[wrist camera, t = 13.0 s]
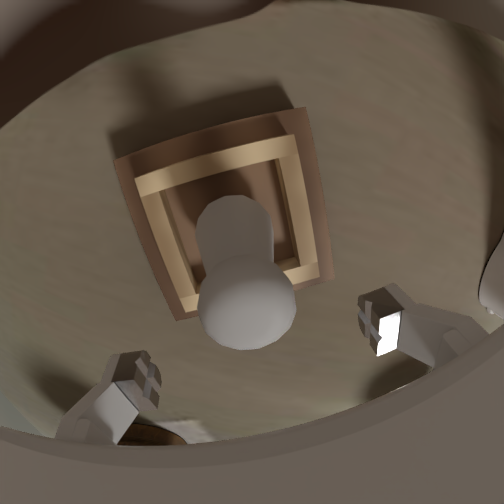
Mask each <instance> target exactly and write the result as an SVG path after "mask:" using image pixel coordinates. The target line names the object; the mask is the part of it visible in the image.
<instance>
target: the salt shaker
mask: <svg viewBox="0 0 504 504" xmlns="http://www.w3.org/2000/svg"><path fill="white" fill-rule="evenodd" d="M195 238H196V241H197V245H198V248H199V252H200V255H201V259H202V262H203V265H204V269H205V272H206V275H207V276H206V277H205V278H204V280H203V281H202V283H201V288H200V293H199V299H198V304H197V311H198V315H199V318H200V321H201V323H202V325H203V328H204V330H205V332H206V333H207V334H208V335H209V336H210V337H211V338H213V339H214V340H215V341H216V342H217V343H219V344H220V345H224V346H227V347H231V348H234V349H238V350H247V349H259V348H261V347H263V346H266V345H268V344H270V343H273V342H275V341H277V340H278V339H279V338H280V337H281V336H282V335H283V334H284V333H285V332H286V331H287V330H288V329H289V328H290V327H291V324H292V322H293V319H294V316H295V313H296V304H295V297H294V291H293V284H292V283H291V281H290V280H289V278H288V277H287V276H286V274H285V273H284V272H283V271H282V270H281V269H280V268H279V266H278V265H277V264H276V263H274V232H273V227H272V221H271V216H270V215H269V214H268V213H267V211H266V210H265V209H264V208H263V207H262V205H261V204H260V203H258V202H256V201H254V200H252V199H250V198H248V197H246V196H244V195H232V196H224V197H222V198H219V199H217V200H215V201H213V202H211V203H209V204H208V205H207V207H206V208H205V209H204V211H203V212H202V214H201V215H200V216H199V218H198V221H197V226H196V231H195Z"/></svg>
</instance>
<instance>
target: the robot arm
mask: <svg viewBox="0 0 504 504" xmlns="http://www.w3.org/2000/svg"><path fill="white" fill-rule="evenodd" d="M479 300H480V303H481V304H482V305H483V306H485V307H487V311H488V313H490V314H494V313H495V314H497V315H498V316H499V317H501V318H502V319H504V233H503V236H502V239H501V241H500V243H499V244H498V246H497V247H496V249H495V250H494V252H493V254H492V256H491V258H490V260H489V262H488V264H487V266H486V269H485V271H484V274H483V277H482V281H481V285H480V291H479ZM358 306H359V307H360V309H361V310H360V312H359V314H358V322H359V326H360V329H361V331H362V333H363V335H364V337H366V338H369V339H370V346H371V347H372V349H373V350H374V352H375V353H376V355H377V356H379V355H381V354H384V353H387V352H389V351H392V350H394V349H397V350H399V351H401V352H403V353H405V354H407V355H409V356H411V357H413V358H415V359H417V360H419V361H421V362H423V363H425V364H427V365H429V366H431V367H433V371H432V372H430V373H428V374H426V375H424V376H422V377H420V378H418V379H416V380H415V381H413V382H411V383H409V384H406V385H404V386H402V387H400V388H398V389H396V390H394V391H392V392H389V393H387V394H385V395H383V396H380V397H378V398H376V399H373V400H371V401H368V402H366V403H363V404H361V405H358V406H356V407H353V408H350V409H348V410H345V411H342V412H339V413H336V414H333V415H330V416H327V417H324V418H321V419H318V420H314V421H311V422H308V423H304V424H300V425H297V426H293V427H289V428H285V429H281V430H277V431H272V432H268V433H263V434H258V435H253V436H248V437H242V438H236V439H229V440H222V441H215V442H206V443H197V444H185V445H168V446H118V445H117V443H118V442H119V440H120V439H121V437H122V436H123V435H124V433H125V432H126V430H127V429H128V427H129V426H130V425H131V423H132V422H133V420H134V419H135V417H136V416H137V415H138V413H139V411H147V410H156V409H158V403H159V395H158V393H157V391H158V390H159V389H160V388H161V383H162V381H161V374H160V372H159V369H158V368H157V366H156V365H155V364H153V363H151V362H150V359H151V357H150V355H149V354H148V353H147V351H144V350H142V351H135V352H127V353H121V354H113V355H112V356H110V358H109V361H108V364H107V366H106V369H105V371H104V374H103V377H102V380H101V382H100V383H98V384H96V385H95V386H94V387H93V388H92V389H91V390H90V391H89V392H88V393H87V394H86V395H85V396H83V397H82V398H81V399H80V400H79V401H78V402H77V403H76V404H75V405H74V406H73V407H72V408H71V409H70V410H69V411H68V412H67V413H66V414H64V415H63V416H62V419H61V422H60V424H59V427H58V430H57V433H56V436H55V439H54V438H49V437H43V436H38V435H34V434H29V433H25V432H21V431H17V430H14V429H10V428H7V427H3V426H1V427H0V504H504V324H503V325H502V326H500V327H499V328H498V329H496V330H495V331H494V332H492V333H491V334H490V335H489V334H488V333H487V332H486V331H485V330H484V329H483V328H482V327H481V326H480V325H479V324H478V323H477V322H476V321H475V320H474V319H473V318H472V317H469V316H466V315H462V314H458V313H454V312H451V311H447V310H443V309H440V308H436V307H432V306H429V305H425V304H421V303H419V304H416V303H415V302H414V301H413V300H412V299H411V298H410V297H409V296H408V295H407V294H406V293H405V292H404V291H403V290H402V289H400V288H399V287H398V286H397V285H396V284H395V283H392V284H389V285H387V286H384V287H382V288H380V289H377V290H374V291H371V292H369V293H366V294H363V295H360V296H359V297H358Z"/></svg>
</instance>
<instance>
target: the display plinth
mask: <svg viewBox="0 0 504 504" xmlns="http://www.w3.org/2000/svg"><path fill="white" fill-rule="evenodd" d="M113 161H114V165H115V168H116V171H117V175H118V178H119V181H120V184H121V187H122V190H123V193H124V196H125V199H126V202H127V205H128V208H129V211H130V213H131V216H132V219H133V222H134V224H135V227H136V230H137V232H138V235H139V238H140V240H141V243H142V245H143V248H144V250H145V253H146V255H147V258H148V260H149V263H150V265H151V267H152V270H153V272H154V274H155V277H156V279H157V281H158V284H159V286H160V288H161V290H162V293H163V295H164V297H165V299H166V301H167V303H168V306H169V308H170V310H171V312H172V314H173V316H174V318H175V320H176V321H178V320H183V319H187V318H191V317H196V316H199V315H198V311H197V304H198V299H199V293H200V288H201V283H202V281H203V280H204V278H205V277H206V276H207V275H206V272H205V269H204V265H203V262H202V259H201V255H200V252H199V248H198V245H197V241H196V238H195V231H196V226H197V221H198V218H199V216H200V215H201V214H202V212H203V211H204V209H205V208H206V207H207V205H208V204H209V203H211V202H213V201H215V200H217V199H219V198H222V197H224V196H232V195H244V196H246V197H248V198H250V199H252V200H254V201H256V202H258V203H260V204H261V205H262V207H263V208H264V209H265V210H266V211H267V213H268V214H269V215H270V216H271V221H272V227H273V232H274V263H276V264H277V265H278V266H279V268H280V269H281V270H282V271H283V272H284V273H285V274H286V276H287V277H288V278H289V280H290V281H291V283H292V284H293V291H296V290H299V289H302V288H306V287H309V286H313V285H316V284H319V283H323V282H326V281H329V280H333V279H335V278H334V268H333V259H332V251H331V243H330V235H329V228H328V221H327V214H326V208H325V202H324V195H323V189H322V184H321V178H320V173H319V167H318V162H317V157H316V152H315V147H314V142H313V137H312V133H311V128H310V124H309V119H308V115H307V111H306V107H302V108H295V109H289V110H283V111H278V112H273V113H268V114H263V115H258V116H253V117H249V118H244V119H240V120H236V121H232V122H228V123H224V124H220V125H216V126H212V127H209V128H205V129H202V130H198V131H195V132H191V133H188V134H185V135H182V136H179V137H175V138H172V139H169V140H166V141H163V142H160V143H158V144H155V145H152V146H149V147H146V148H144V149H141V150H138V151H136V152H133V153H131V154H128V155H126V156H123V157H121V158H118V159H116V160H113Z"/></svg>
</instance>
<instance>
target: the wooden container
mask: <svg viewBox="0 0 504 504" xmlns="http://www.w3.org/2000/svg"><path fill="white" fill-rule="evenodd" d="M185 444H187V443H186V442H185V441H184V440H183V439H182V438H180V437H179V436H177V435H175V434H173V433H171V432H169V431H166V430H163V429H160V428H157V427H153V426H148V425H142V424H131V425H130V426H129V427H128V429H127V430H126V432H125V433H124V435H123V436H122V437H121V439H120V440H119V442H118V443H117V445H118V446H168V445H185Z"/></svg>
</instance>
